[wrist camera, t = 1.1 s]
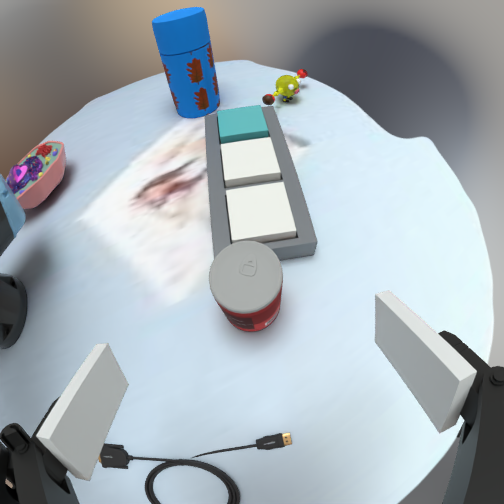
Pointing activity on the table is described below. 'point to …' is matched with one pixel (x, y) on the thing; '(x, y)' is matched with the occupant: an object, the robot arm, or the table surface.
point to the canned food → (247, 284)
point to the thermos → (188, 60)
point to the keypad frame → (217, 189)
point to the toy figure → (286, 87)
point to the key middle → (249, 162)
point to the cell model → (38, 174)
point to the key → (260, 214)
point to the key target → (242, 124)
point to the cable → (187, 463)
